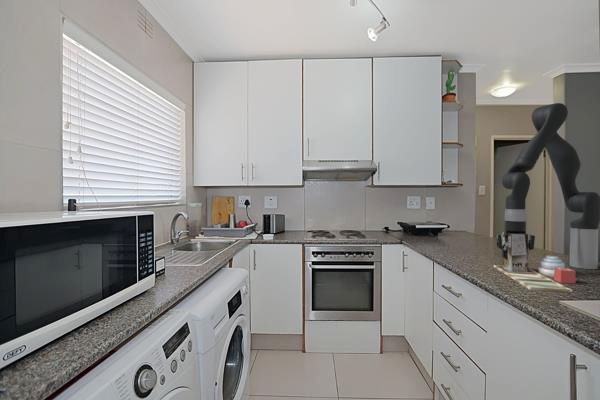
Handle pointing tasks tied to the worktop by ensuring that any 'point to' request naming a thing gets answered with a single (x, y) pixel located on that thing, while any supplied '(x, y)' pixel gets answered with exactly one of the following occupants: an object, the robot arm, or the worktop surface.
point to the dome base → (546, 271)
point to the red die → (564, 275)
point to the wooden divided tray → (534, 280)
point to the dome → (552, 262)
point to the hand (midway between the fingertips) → (514, 259)
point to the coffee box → (516, 252)
